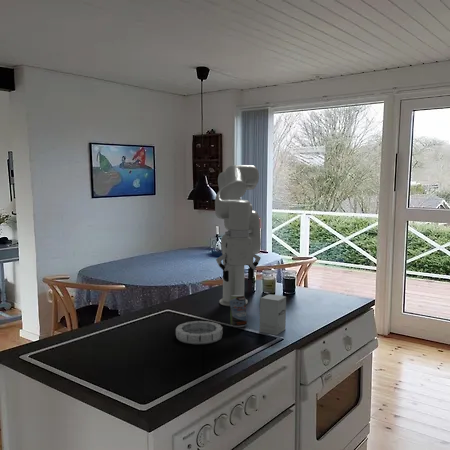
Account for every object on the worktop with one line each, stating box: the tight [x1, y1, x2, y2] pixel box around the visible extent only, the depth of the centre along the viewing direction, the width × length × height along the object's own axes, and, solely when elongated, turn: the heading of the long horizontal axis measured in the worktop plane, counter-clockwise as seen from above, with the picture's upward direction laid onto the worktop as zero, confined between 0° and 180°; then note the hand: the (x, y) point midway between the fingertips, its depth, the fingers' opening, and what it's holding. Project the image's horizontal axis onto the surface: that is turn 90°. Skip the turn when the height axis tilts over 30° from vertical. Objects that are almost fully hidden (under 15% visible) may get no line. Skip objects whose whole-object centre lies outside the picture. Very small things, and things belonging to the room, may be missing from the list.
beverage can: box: [229, 294, 248, 328], centre depth 171 cm, size 6×7×12 cm
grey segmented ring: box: [175, 320, 224, 345], centre depth 160 cm, size 16×16×3 cm
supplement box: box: [259, 294, 287, 336], centre depth 166 cm, size 7×7×13 cm
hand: (238, 280), depth 170 cm, fingers open, 9 cm apart
